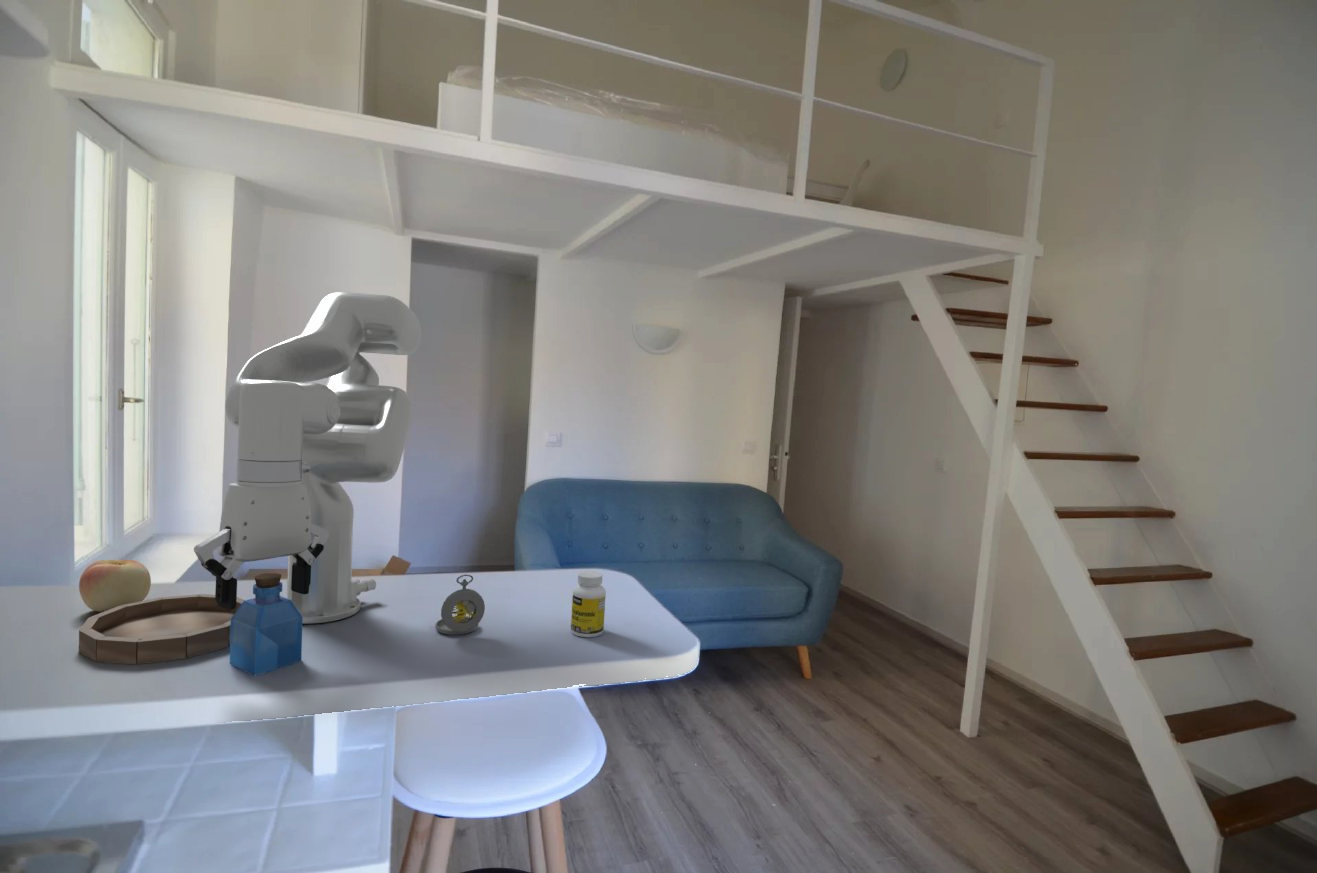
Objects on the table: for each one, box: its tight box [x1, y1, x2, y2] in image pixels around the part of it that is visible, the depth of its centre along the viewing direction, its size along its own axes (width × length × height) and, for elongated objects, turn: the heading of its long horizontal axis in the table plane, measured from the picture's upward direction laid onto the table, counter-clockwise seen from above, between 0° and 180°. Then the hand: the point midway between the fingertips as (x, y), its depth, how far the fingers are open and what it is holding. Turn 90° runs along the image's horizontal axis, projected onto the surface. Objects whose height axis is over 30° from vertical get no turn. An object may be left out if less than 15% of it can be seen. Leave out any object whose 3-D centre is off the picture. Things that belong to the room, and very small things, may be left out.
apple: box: [78, 559, 152, 613], centre depth 106 cm, size 9×9×8 cm
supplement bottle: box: [570, 570, 607, 638], centre depth 109 cm, size 5×5×10 cm
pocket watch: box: [434, 574, 486, 635], centre depth 105 cm, size 8×8×10 cm
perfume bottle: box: [229, 572, 303, 676], centre depth 90 cm, size 6×6×12 cm
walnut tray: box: [78, 593, 245, 665], centre depth 97 cm, size 20×20×3 cm
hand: (264, 599), depth 89 cm, fingers open, 9 cm apart
